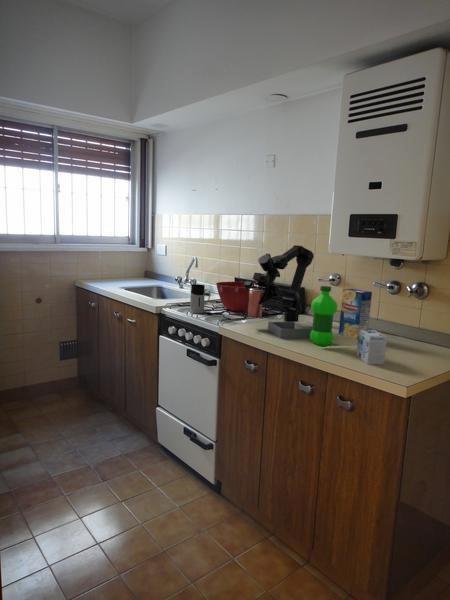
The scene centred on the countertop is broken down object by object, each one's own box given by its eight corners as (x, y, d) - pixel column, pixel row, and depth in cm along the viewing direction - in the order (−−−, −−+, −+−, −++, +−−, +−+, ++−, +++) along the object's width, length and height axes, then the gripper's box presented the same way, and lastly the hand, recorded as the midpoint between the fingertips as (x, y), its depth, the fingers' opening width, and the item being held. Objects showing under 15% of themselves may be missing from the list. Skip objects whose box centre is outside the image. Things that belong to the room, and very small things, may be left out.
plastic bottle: (303, 342, 181) (308, 284, 177) (324, 341, 185) (329, 284, 181) (317, 349, 172) (322, 288, 168) (338, 347, 176) (344, 288, 172)
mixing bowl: (205, 307, 252) (206, 282, 249) (238, 303, 271) (240, 280, 269) (238, 316, 232) (239, 288, 229) (272, 311, 251) (274, 285, 248)
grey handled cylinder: (197, 309, 245) (198, 283, 243) (214, 313, 235) (215, 286, 233) (186, 310, 239) (186, 284, 236) (203, 315, 229) (204, 287, 227)
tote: (306, 331, 202) (307, 321, 201) (321, 339, 188) (322, 328, 187) (267, 332, 197) (268, 321, 196) (280, 340, 183) (280, 329, 182)
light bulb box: (355, 356, 165) (358, 329, 163) (372, 356, 165) (375, 329, 164) (367, 364, 154) (370, 335, 153) (384, 365, 155) (388, 336, 153)
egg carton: (306, 331, 199) (306, 321, 198) (315, 336, 190) (316, 326, 189) (293, 331, 197) (294, 321, 196) (302, 336, 188) (303, 326, 188)
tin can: (257, 314, 203) (258, 287, 201) (264, 317, 197) (265, 289, 195) (245, 315, 200) (246, 288, 198) (252, 318, 195) (253, 290, 192)
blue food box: (357, 341, 188) (362, 292, 185) (338, 335, 197) (342, 289, 194) (367, 339, 192) (372, 291, 189) (348, 334, 201) (352, 288, 198)
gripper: (247, 264, 204) (231, 289, 198) (279, 268, 192) (263, 294, 185) (256, 279, 211) (241, 303, 205) (287, 284, 199) (272, 310, 193)
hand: (253, 302), depth 197 cm, fingers closed on tin can, 6 cm apart
